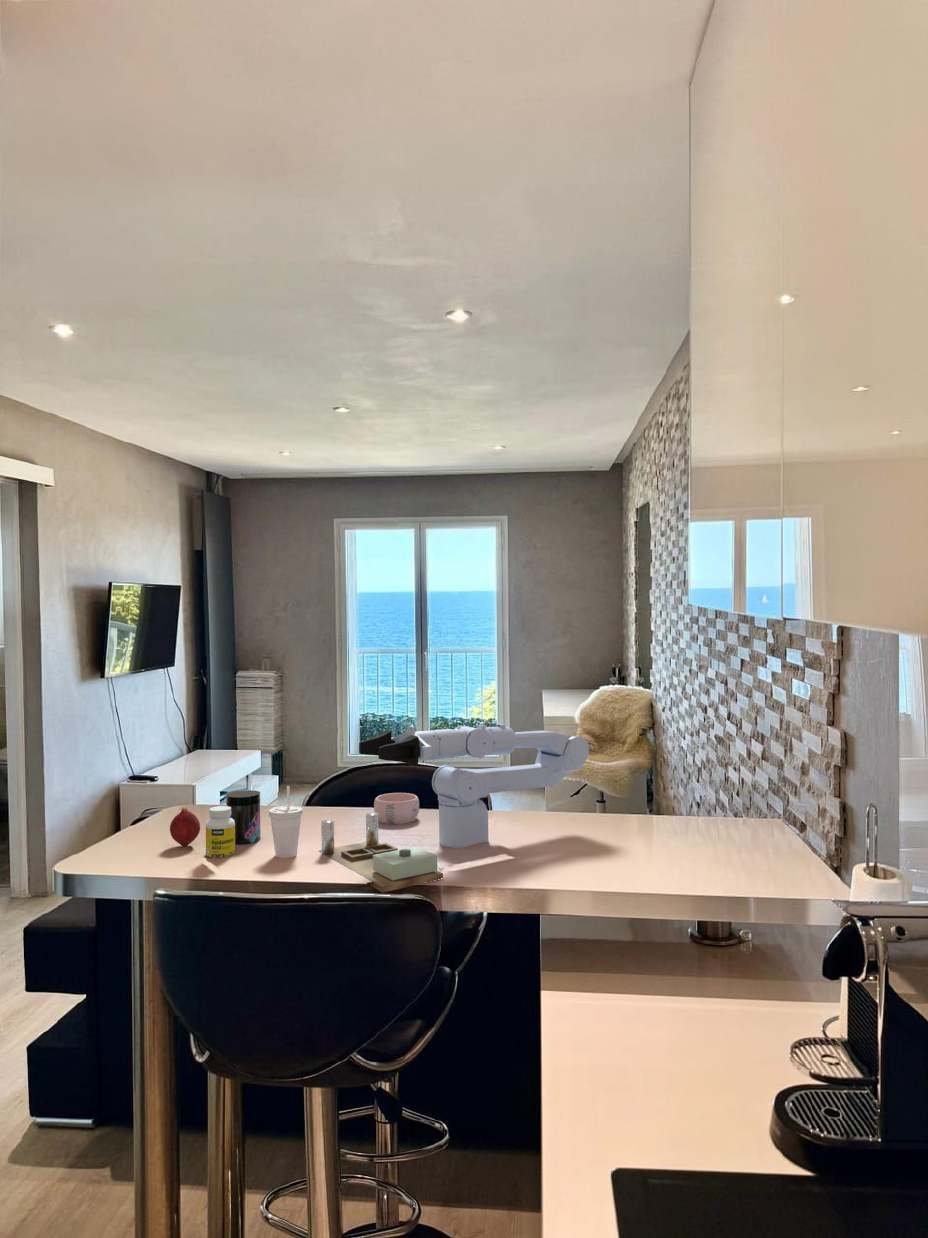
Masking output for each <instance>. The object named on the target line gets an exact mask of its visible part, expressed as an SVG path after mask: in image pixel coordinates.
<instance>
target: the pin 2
mask: <svg viewBox="0 0 928 1238" xmlns="http://www.w3.org/2000/svg"><path fill="white" fill-rule="evenodd" d="M365 837H366V838H365V842H366V845H367V846H373V845H378V844H379V843H380V842H379V821H378V813H375V812H368V813H366V814H365Z"/></svg>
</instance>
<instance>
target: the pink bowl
mask: <svg viewBox="0 0 928 1238" xmlns="http://www.w3.org/2000/svg"><path fill="white" fill-rule="evenodd" d="M373 809H374V812H373V813H378V823H381V824H386V825H403V824H409V823H412V822H415V821H416V820H417V817H418V814H419V812H420V800H419V797H418V796H417V795H416V794H414V793H409V792H408V793H407V792H391V793H390V792H389V793H384V794H380V795H377V797H375V799H374V802H373Z"/></svg>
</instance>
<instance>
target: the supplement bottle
mask: <svg viewBox="0 0 928 1238" xmlns="http://www.w3.org/2000/svg"><path fill="white" fill-rule="evenodd" d="M230 816H231V807H228V806H226V805H218V806H214V807H210V808H209V817H210V819H207V821H206V823H205V860H206V861H207V862H209V863H212V861H211V860H210V859H224V858H229V857H232V856H234V855H235V854H236V845H235V821H234V820H233V819H232V818H230ZM208 858H209V859H208Z"/></svg>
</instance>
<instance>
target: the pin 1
mask: <svg viewBox="0 0 928 1238" xmlns="http://www.w3.org/2000/svg"><path fill="white" fill-rule="evenodd" d="M320 830H321V831H320V832H321V850H322V853H321V854H322V855H323V856H326V855H329V854H333V853H334V848H335V820H333V819H325V820H321V829H320Z"/></svg>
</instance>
